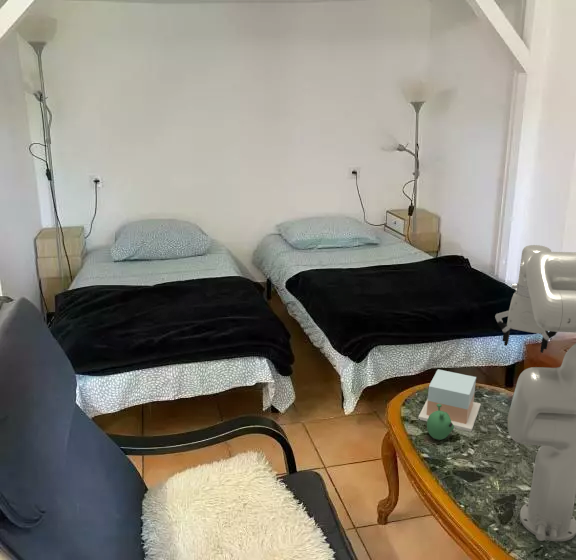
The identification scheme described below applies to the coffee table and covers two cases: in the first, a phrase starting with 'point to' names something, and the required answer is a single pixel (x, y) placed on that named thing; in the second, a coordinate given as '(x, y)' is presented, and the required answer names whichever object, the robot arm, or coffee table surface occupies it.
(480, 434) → the coffee table surface
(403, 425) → the coffee table surface
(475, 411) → the brick tower
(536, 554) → the coffee table surface
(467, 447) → the coffee table surface
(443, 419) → the alien toy
